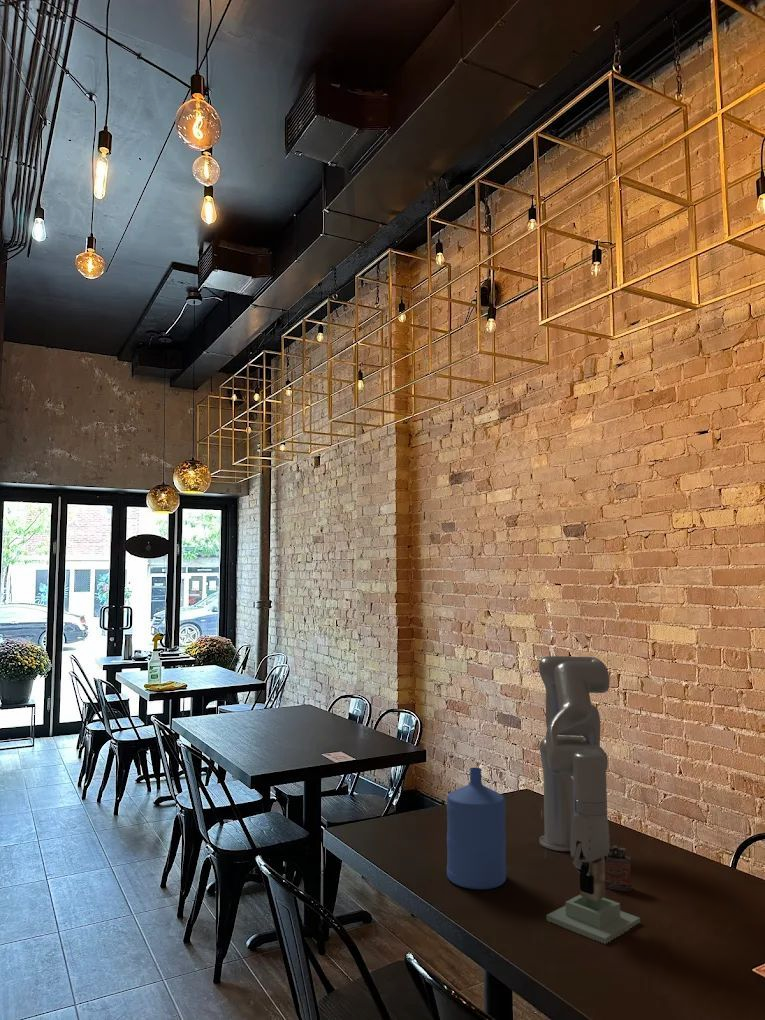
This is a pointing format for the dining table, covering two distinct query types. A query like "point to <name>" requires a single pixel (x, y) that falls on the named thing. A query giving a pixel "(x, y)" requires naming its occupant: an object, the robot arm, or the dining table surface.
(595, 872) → the birch peg
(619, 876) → the lighter
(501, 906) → the dining table surface
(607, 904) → the slot holder
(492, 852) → the water jug
